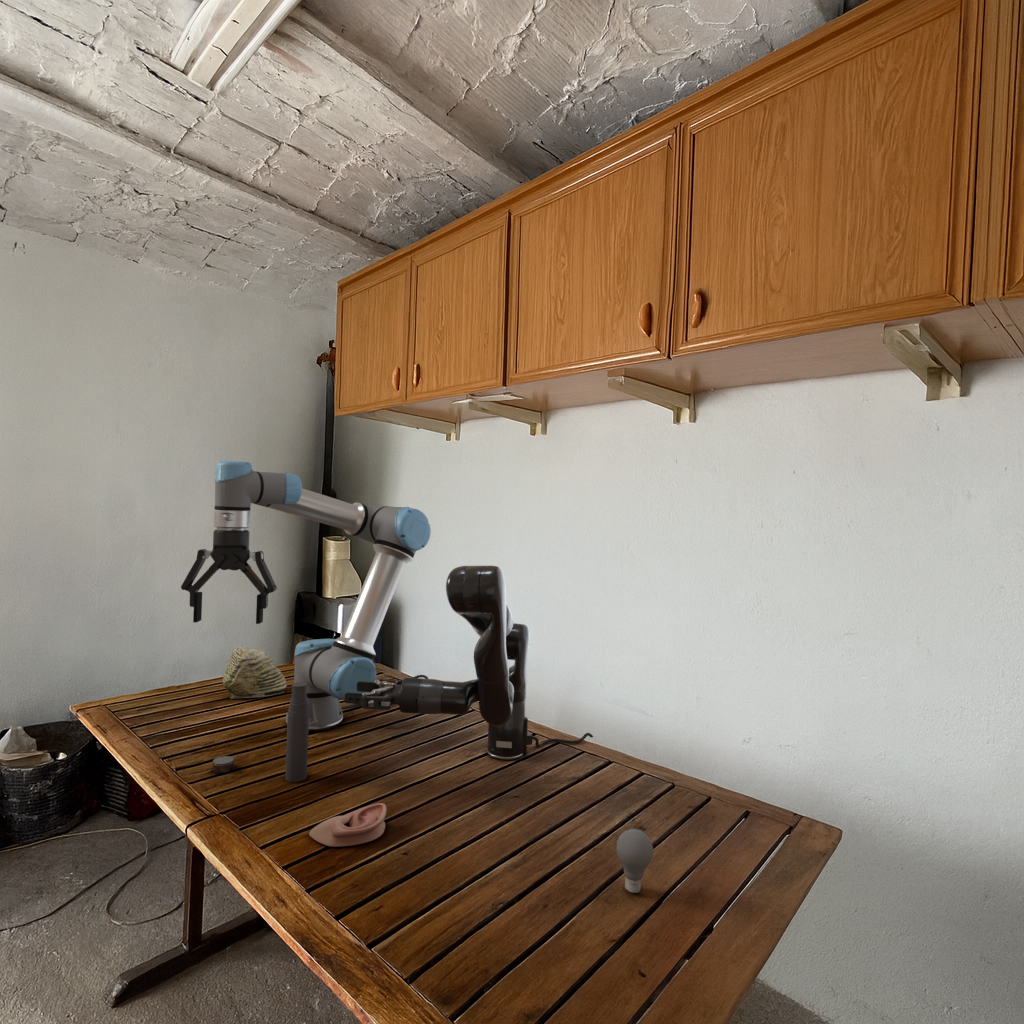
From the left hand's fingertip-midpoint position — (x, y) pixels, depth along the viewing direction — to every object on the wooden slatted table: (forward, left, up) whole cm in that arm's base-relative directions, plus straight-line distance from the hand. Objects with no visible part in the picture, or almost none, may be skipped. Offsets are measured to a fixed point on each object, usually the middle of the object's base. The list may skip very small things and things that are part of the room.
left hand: (228, 622), depth 144 cm
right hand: (-16, +25, -14) cm, 33 cm away
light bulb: (-23, +92, -34) cm, 101 cm away
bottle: (-9, +15, -34) cm, 38 cm away
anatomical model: (-3, +43, -34) cm, 55 cm away
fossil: (-33, -45, -34) cm, 65 cm away
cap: (0, 0, -32) cm, 32 cm away
